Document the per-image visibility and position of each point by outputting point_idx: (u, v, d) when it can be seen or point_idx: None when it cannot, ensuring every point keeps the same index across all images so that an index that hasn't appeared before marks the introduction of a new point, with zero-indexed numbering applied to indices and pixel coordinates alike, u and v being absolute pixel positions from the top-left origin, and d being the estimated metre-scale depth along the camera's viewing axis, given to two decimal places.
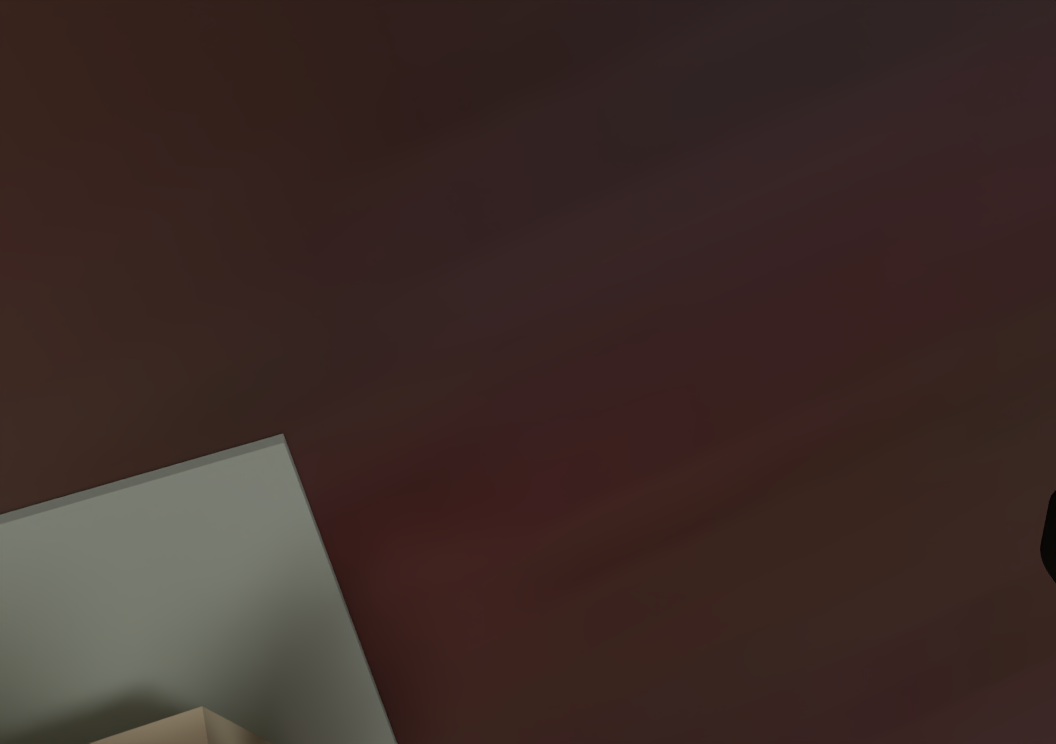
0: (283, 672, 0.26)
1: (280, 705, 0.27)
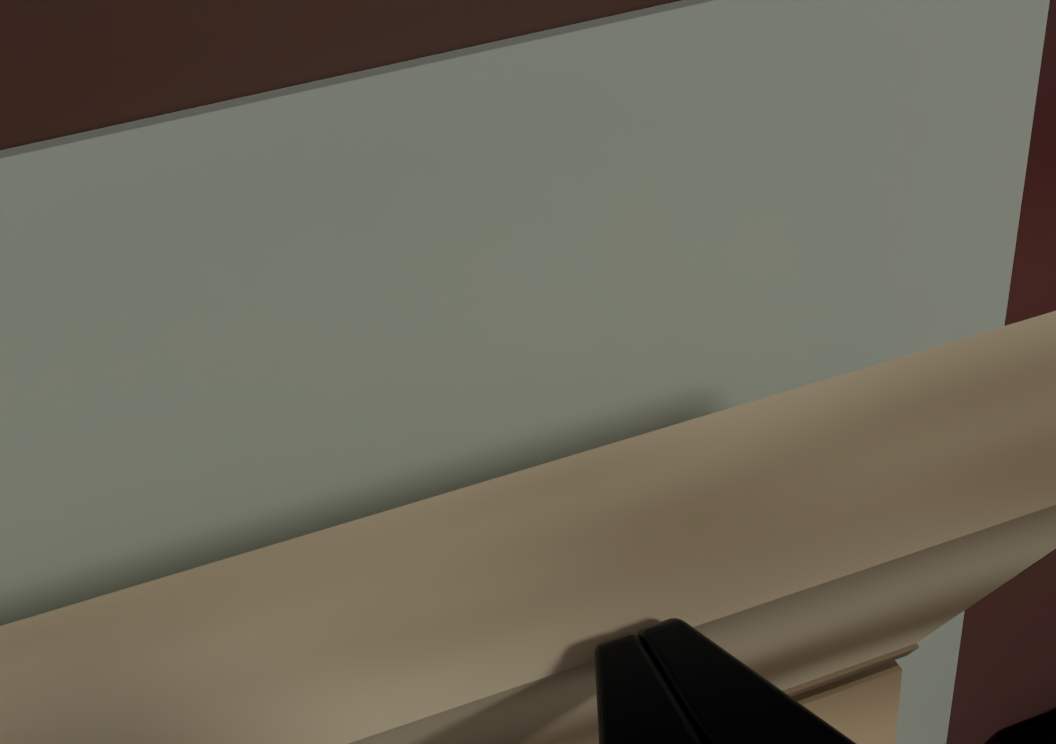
0: None
1: None
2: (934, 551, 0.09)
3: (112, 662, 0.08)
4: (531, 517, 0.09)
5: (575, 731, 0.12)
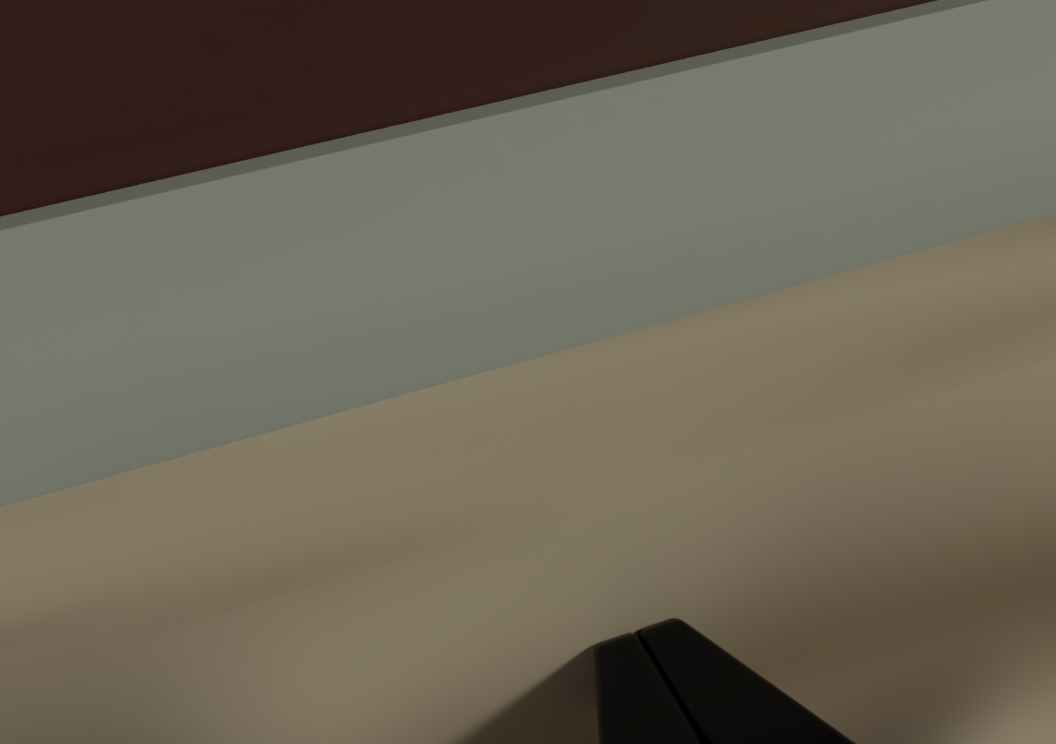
0: None
1: None
2: None
3: None
4: None
5: None
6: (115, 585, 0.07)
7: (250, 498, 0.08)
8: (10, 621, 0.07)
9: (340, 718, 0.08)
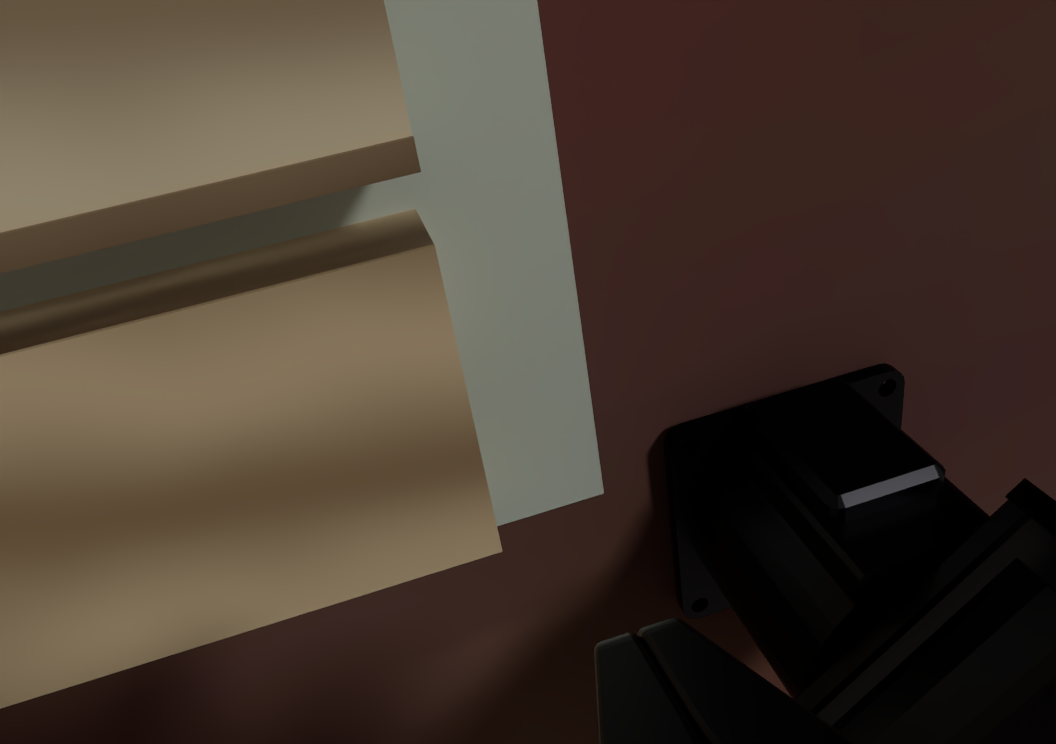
0: None
1: (399, 49, 0.17)
2: None
3: None
4: None
5: None
6: None
7: None
8: None
9: None
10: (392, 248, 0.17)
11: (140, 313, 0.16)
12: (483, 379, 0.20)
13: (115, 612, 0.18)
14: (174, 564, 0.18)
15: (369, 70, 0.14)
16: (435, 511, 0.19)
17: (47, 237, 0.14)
